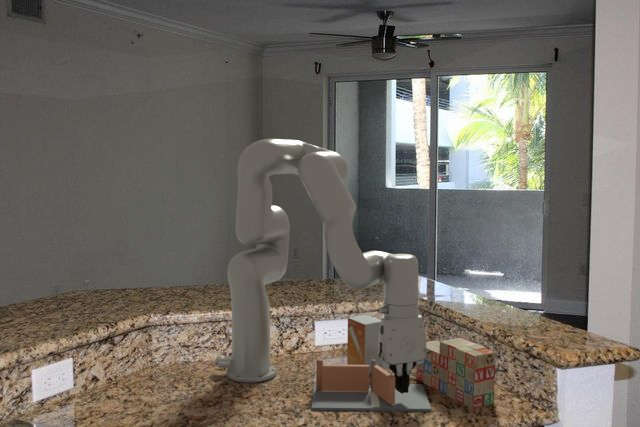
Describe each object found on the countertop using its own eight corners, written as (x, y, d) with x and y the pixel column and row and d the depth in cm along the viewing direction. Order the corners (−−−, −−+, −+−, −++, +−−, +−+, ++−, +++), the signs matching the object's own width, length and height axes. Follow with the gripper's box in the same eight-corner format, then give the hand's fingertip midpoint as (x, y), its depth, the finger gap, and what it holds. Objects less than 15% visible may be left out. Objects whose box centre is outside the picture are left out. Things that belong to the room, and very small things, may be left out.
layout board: (311, 410, 143) (311, 407, 142) (313, 385, 157) (313, 383, 157) (431, 411, 142) (431, 408, 142) (422, 386, 157) (422, 384, 157)
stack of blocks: (415, 379, 162) (416, 331, 161) (435, 375, 165) (436, 328, 164) (473, 409, 143) (474, 355, 142) (494, 404, 146) (496, 351, 145)
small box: (346, 365, 172) (346, 317, 171) (366, 361, 176) (366, 314, 174) (364, 374, 165) (364, 324, 164) (384, 370, 169) (385, 320, 168)
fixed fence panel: (316, 391, 152) (316, 361, 151) (316, 388, 154) (316, 359, 153) (369, 391, 152) (369, 361, 151) (368, 389, 153) (368, 359, 153)
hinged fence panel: (369, 389, 153) (370, 359, 152) (374, 389, 153) (374, 359, 153) (389, 405, 143) (390, 373, 143) (394, 405, 144) (395, 373, 143)
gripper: (378, 317, 138) (379, 402, 140) (439, 310, 144) (439, 391, 145) (363, 310, 145) (364, 390, 147) (422, 303, 151) (422, 381, 152)
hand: (401, 391), depth 146 cm, fingers closed
